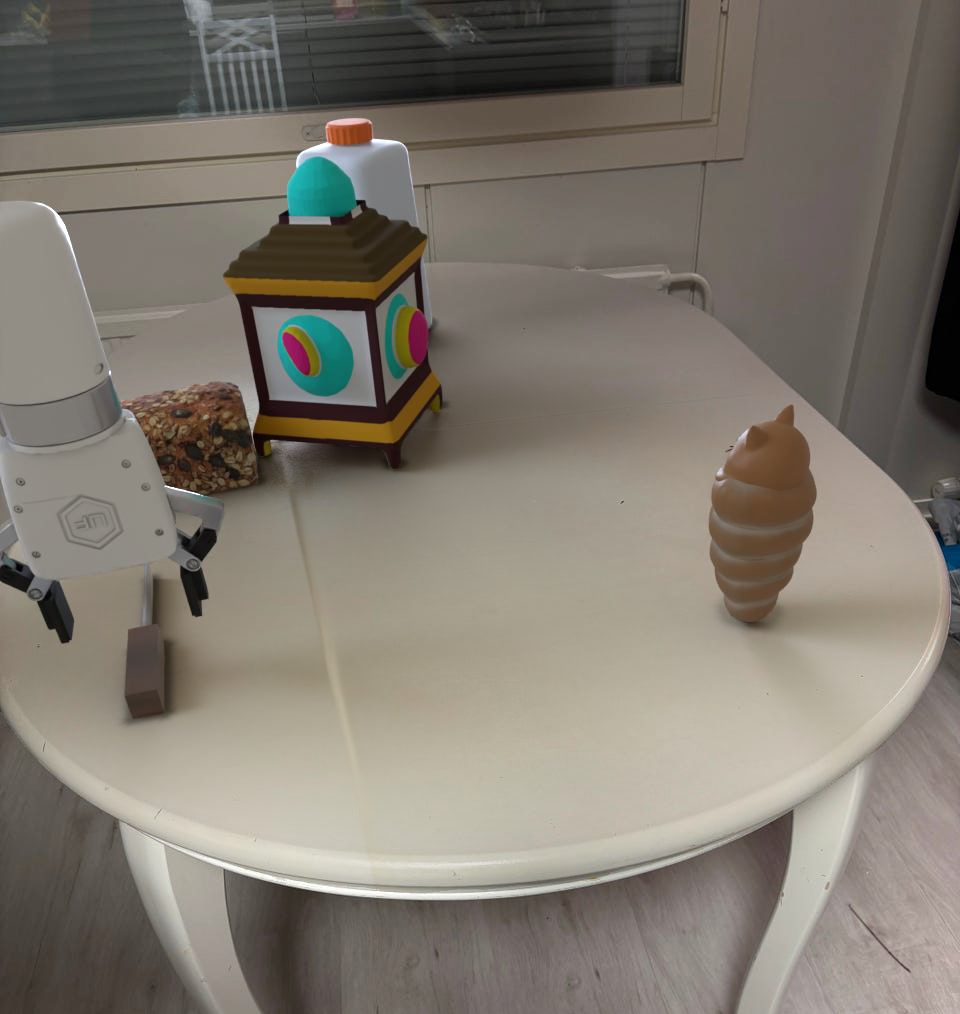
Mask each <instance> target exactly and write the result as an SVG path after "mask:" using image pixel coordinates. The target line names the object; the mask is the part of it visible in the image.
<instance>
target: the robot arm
mask: <svg viewBox="0 0 960 1014" xmlns="http://www.w3.org/2000/svg"><path fill="white" fill-rule="evenodd" d="M118 395H119V394H118V392H117V388H116V385H115V381H114V379H113V375H112V372H111V370H110V366H109V362H108V359H107V355H106V352H105V349H104V346H103V343H102V340H101V336H100V333H99V330H98V326H97V324H96V320H95V317H94V314H93V309H92V307H91V304H90V300H89V297H88V294H87V291H86V288H85V284H84V280H83V278H82V275H81V271H80V268H79V265H78V261H77V258H76V255H75V252H74V249H73V245H72V242H71V239H70V236H69V233H68V231H67V228H66V225H65V223H64V222H63V220H62V218H61V217H60V215H59V214H58V213H57V212H56V211H55V210H54V209H52V208H51V207H50V206H48V205H46V204H44V203H40V202H36V201H31V200H5V201H0V481H1V486H2V489H3V492H4V497H5V500H6V503H7V508H8V510H9V514H10V518H7V520H6V521H4V522H3V523H1V524H0V582H1V583H3V584H4V585H7V586H9V587H11V588H13V589H15V590H18V591H20V592H22V593H25V594H26V597H27V599H29V600H30V601H33V602H36V603H37V606H38V608H39V611H40V613H41V615H42V618H43V620H44V623H45V625H46V627H47V629H48V631H52V630H55V633H56V634H57V637H58V640H59V642H60V643H61V644H62V645H65V644H69V643H70V641H72V640H73V634H74V627H75V618H74V615H73V612H72V609H71V607H70V604H69V603H68V599H67V596H66V594H65V592H64V589H63V587H62V585H61V582H60V581H64V580H65V581H66V580H70V579H76V578H77V579H78V578H82V577H89V576H94V575H98V574H103V573H108V572H116V571H120V570H125V569H129V568H135V567H140V566H144V565H146V564H149V565H150V564H155V563H159V562H162V561H163V560H166V559H169V560H170V561H172V562H175V564H177V565H179V576H180V580H181V584H182V587H183V590H184V594H185V596H186V600H187V603H188V606H189V611H190V613H191V616H192V617H195V618H200V617H203V601H206V600H209V598H210V595H209V588H208V585H207V582H206V577H205V575H204V571H203V568H202V562H203V561H204V560H205V559H206V557H207V556H208V554H209V553H210V552H211V551H212V549H213V547H214V546H215V545H216V544H217V541H218V536H219V532H220V530H221V527H222V523H223V520H224V518H225V513H226V512H225V511H226V510H225V504H224V503H225V502H224V501H223V500H222V499H220V498H216V497H213V496H209V495H205V494H202V495H200V494H196V493H192V492H188V491H184V490H180V489H176V488H172V487H168V486H166V485H165V482H164V479H163V477H162V474H161V471H160V469H159V466H158V464H157V461H156V459H155V457H154V454H153V452H152V449H151V447H150V445H149V443H148V441H147V439H146V437H145V435H144V433H143V431H142V429H141V427H140V425H139V423H138V421H137V420H136V418H135V416H134V415H133V413H132V412H131V411H129V410H127V409H122V407H121V404H120V401H121V400H120V398H119V396H118ZM175 512H176V513H181V514H184V515H190V516H194V517H197V518H200V519H201V524H200V525H199V526H198V528H197V530H196V531H194V533H193V535H192V536H190V535H189V534H187V533H186V532H184V531H183V530H181V529H180V528H178V527H177V526H176V525H177V518H176V513H175ZM17 542H19V545H20V549H21V551H22V553H23V556H24V558H25V562H26V563H23V562H22V561H19V560H17V559H15V558H11V557H9V556H8V554H7V553H6V552H5V551H7V550H8V549H9V548H10V547H12V546H13V545H14V544H16V543H17Z"/></svg>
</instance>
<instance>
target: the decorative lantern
mask: <svg viewBox="0 0 960 1014" xmlns="http://www.w3.org/2000/svg"><path fill="white" fill-rule="evenodd" d="M286 187H287V189H286V199H287V206H288V209H286V210H285V211H283V212H281V213H280V214H278V222H277V223H275V224H274V225H272V226H271V227H270V228H269V231H268V233H267V234H266V235H264V236H262V237H260V238H259V239H258V240H256V241H254V242H253V243H251V244H249V245H248V246H246V247H245V248H243V249H241V250H240V251H239V254H238V256H237V257H236V258H235V259H234V260H232V261H231V262H230V263H229V265H228V269H227V270H225V271H224V272H223V274H222V277H223V280H224V282H225V284H226V285H227V286H228V289H230V291H231V292H232V294H233V295H234V296H235V297H236V300H237V302H238V304H239V311H240V316H241V320H242V325H243V331H244V335H245V340H246V345H247V350H248V351H247V352H248V356H249V360H250V361H249V362H250V365H251V371H252V375H253V380H254V385H255V391H256V396H257V401H258V412H257V415H256V419H255V422H254V425H253V429H252V439H253V444H254V449H255V454H256V455H257V456H258V457H266V456H269V455H270V454H271V453H272V443H271V441H280V442H292V443H305V444H318V445H330V446H331V445H332V446H343V447H344V446H345V447H356V448H358V447H359V448H372V449H377V450H380V451H382V452H383V453H384V455H385V456H386V461H387V462H388V463H387V465H388V467H389V469H390V470H391V471H397V470H399V469H400V467H401V463H402V446H403V443H404V441H405V439H406V437H407V436H408V435H409V434H410V432H411V431H412V430H413V429H414V427H415V426H416V424H417V423H418V421H419V420H420V419H421V417H422V416H423V415H424V413H425V412H426V411H427V409H428V408H430V410H431V411H432V412H434V413H439V412H440V411H441V410H442V407H443V399H444V396H443V387H442V384H441V382H440V379H439V378H438V377H437V374H436V373H435V371H434V370H433V368H432V367H431V364H430V361H429V350H428V346H429V329H428V325H427V320H426V318H425V313H424V301H423V289H422V277H421V258H422V255H423V256H424V251H425V249H426V247H427V244H428V243H427V242H428V234H427V233H425V232H422V231H421V229H420V227H419V228H418V227H415V226H411V225H410V224H409V222H408V221H406V220H396V219H388V217H387V216H385V215H380V214H378V212H377V210H376V209H374V208H368V207H367V205H366V200H356V198H355V191H354V187H353V184H352V181H351V179H350V177H349V176H348V175H347V174H346V173H345V172H344V171H343V170H342V169H341V168H340V167H339V166H338V165H336V164H335V163H334V162H332V161H330V160H328V159H326V158H324V157H320V156H317V157H311V158H309V159H307V160H305V161H304V162H303V163H302V164H301V165H300V166H299V167H298V168H297V167H296V169H295V171H294V173H293V174H292V176H291V178H290V179H289V180H288V182H287V186H286Z"/></svg>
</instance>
